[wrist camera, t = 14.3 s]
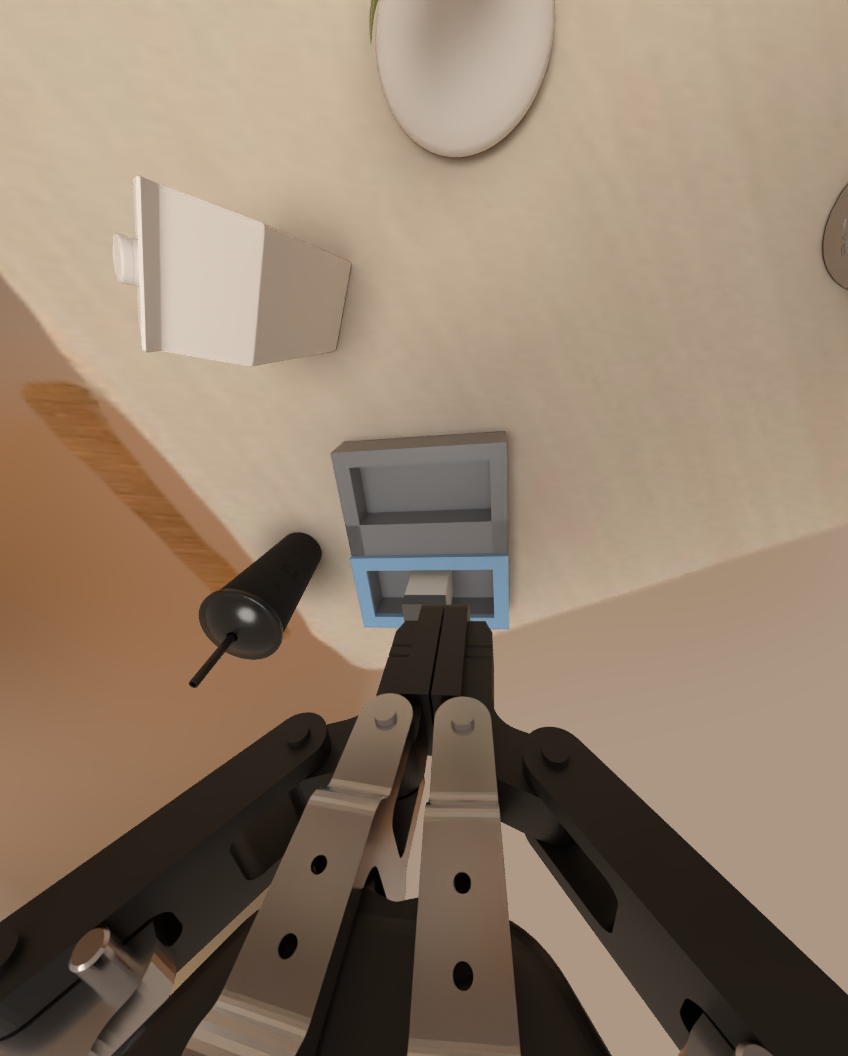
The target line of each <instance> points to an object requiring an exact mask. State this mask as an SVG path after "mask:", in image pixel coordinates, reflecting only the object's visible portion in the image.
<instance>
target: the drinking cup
mask: <svg viewBox="0 0 848 1056" xmlns="http://www.w3.org/2000/svg"><path fill="white" fill-rule="evenodd" d="M320 559H321V549H320V546H319V545H318V543H317V542H316V541H315V540H314V539H313V538H312V537H311V536H309V535H307V534H304V533H292V534H289V535H288V536H286V537H285V538H284V539H283V540H281V541H280V542H279V543H278V544H276V545H275V546H274V547H273V548H271V549H270V550H269V551H268V552H266V553H265V554H264V555H263V556H261V557H260V558H259V559H258V560H257V561H255V562H254V563H253V564H252V565H250V566H249V567H248V568H247V569H245V570H244V571H243V572H242V573H240V574H239V575H238V576H237V577H235V578H234V579H233V580H232V581H231V582H229V583H228V584H227V585H226V586H224V587H223V588H222V589H221V590H218V591H215V592H213V593H211V594H210V595H209V596H207V597H206V598H205V599H204V601H203V602H202V604H201V606H200V609H199V621H200V625H201V627H202V629H203V631H204V633H205V634H206V636H207V637H208V638H209V639H210V640H211V641H212V642H213V643H214V644H215V645H216V646H217V647H218V648H217V649H216V650H215V652H214V653H213V654H212V655H211V656H210V658H209V659H208V660H207V661H206V662H205V664H204V665H203V666H202V667H201V669H200V670H199V671H198V672H197V673H196V674H195V676H194V677H193V678H192V679H191V681H190V682H189V685H190V686H191V687H193V688H196V687H197V686H198V685H199V684H200V683H201V681H202V680H203V679H204V678H205V676H206V675H207V674H208V673H209V671H210V670H211V669H212V668H213V666H214V665H215V664H216V663H217V661H218V660H219V659H220V658H221V656H222V655H223V654H224V653H225V652H227V653H229V654H231V655H233V656H236V657H239V658H243V659H250V660H252V659H253V660H256V659H262V658H266V657H268V656H270V655H272V654H273V653H274V652H276V650H277V649H278V648H279V646H280V644H281V643H282V639H283V632H284V630H285V628H286V626H287V624H288V622H289V620H290V618H291V617H292V614H293V612H294V611H295V609H296V607H297V605H298V603H299V601H300V599H301V597H302V595H303V593H304V591H305V589H306V587H307V585H308V583H309V581H310V579H311V577H312V575H313V573H314V571H315V569H316V567H317V565H318V563H319V561H320Z"/></svg>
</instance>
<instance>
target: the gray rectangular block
mask: <svg viewBox="0 0 848 1056" xmlns="http://www.w3.org/2000/svg"><path fill="white" fill-rule="evenodd" d="M452 596H453V579H452V570H412V572H411V575H410V578H409V582H408V585H407V588H406V592H405V595H404V598H403V601H402V610H403V617H404V622H405V621H406V620H414V621H418V617H419V613H420V609H421V606H422V605H445V606H446V605H451V604H452Z"/></svg>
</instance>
